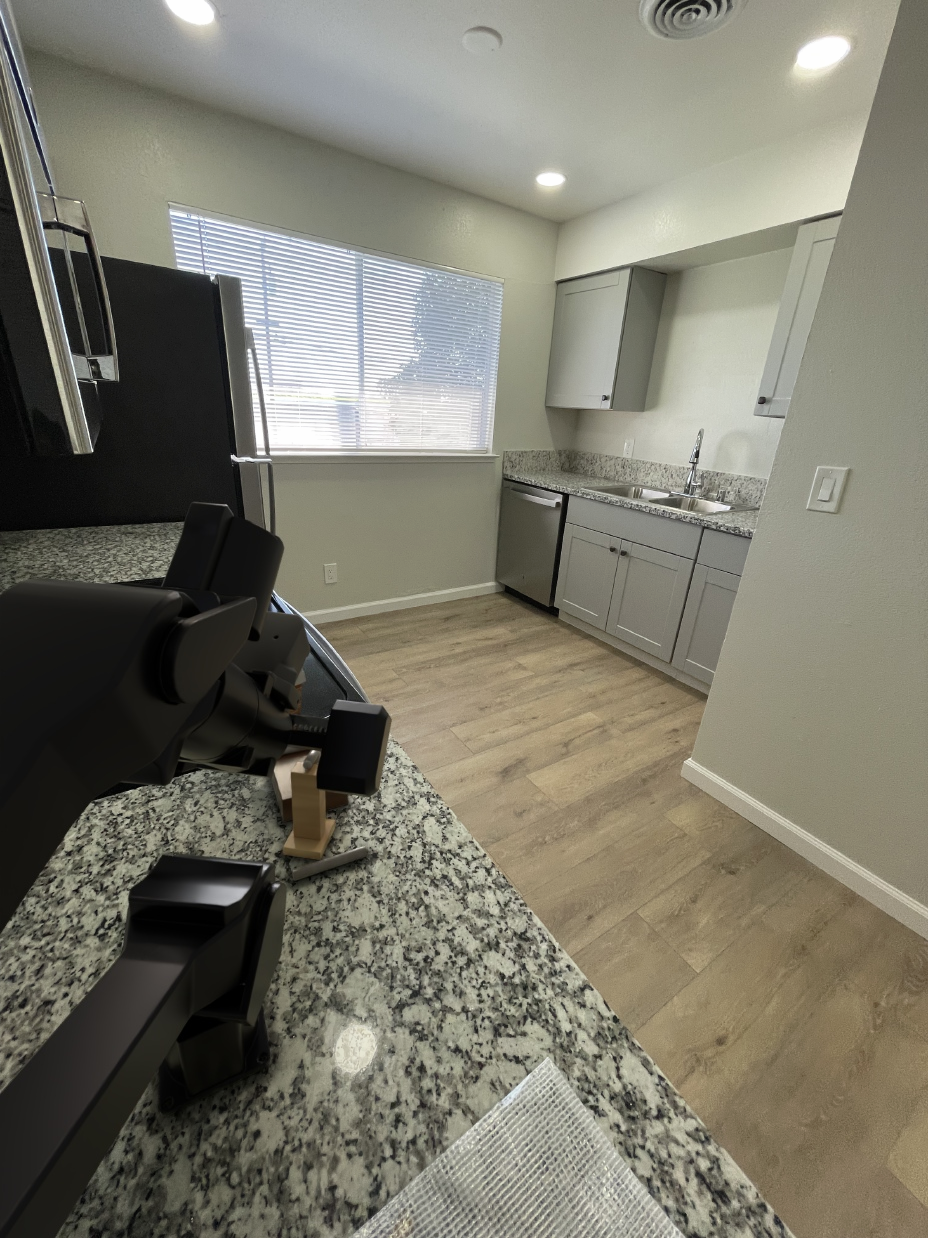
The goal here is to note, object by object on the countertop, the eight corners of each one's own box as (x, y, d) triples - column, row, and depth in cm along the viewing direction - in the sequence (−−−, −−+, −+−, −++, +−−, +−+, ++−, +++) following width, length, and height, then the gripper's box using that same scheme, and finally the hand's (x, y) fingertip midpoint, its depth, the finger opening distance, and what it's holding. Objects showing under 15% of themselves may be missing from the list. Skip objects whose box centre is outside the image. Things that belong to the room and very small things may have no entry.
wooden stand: (371, 857, 51) (372, 827, 49) (294, 883, 47) (292, 853, 46) (329, 762, 63) (328, 736, 62) (265, 777, 60) (263, 750, 58)
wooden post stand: (320, 860, 50) (318, 778, 46) (283, 855, 50) (278, 772, 46) (336, 825, 54) (335, 747, 50) (301, 820, 54) (298, 742, 51)
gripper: (390, 605, 33) (413, 679, 47) (113, 574, 34) (217, 655, 48) (354, 785, 28) (391, 806, 42) (34, 743, 29) (175, 777, 43)
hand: (291, 754), depth 44 cm, fingers open, 9 cm apart
